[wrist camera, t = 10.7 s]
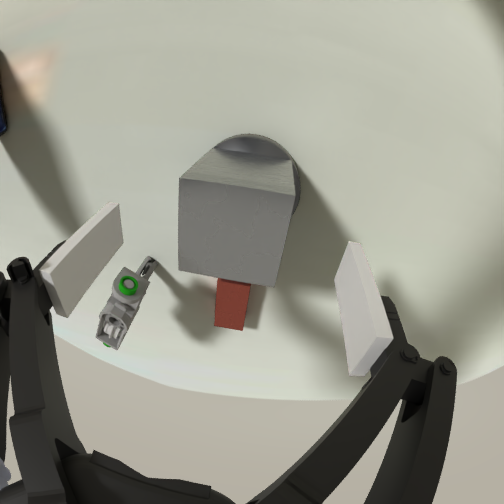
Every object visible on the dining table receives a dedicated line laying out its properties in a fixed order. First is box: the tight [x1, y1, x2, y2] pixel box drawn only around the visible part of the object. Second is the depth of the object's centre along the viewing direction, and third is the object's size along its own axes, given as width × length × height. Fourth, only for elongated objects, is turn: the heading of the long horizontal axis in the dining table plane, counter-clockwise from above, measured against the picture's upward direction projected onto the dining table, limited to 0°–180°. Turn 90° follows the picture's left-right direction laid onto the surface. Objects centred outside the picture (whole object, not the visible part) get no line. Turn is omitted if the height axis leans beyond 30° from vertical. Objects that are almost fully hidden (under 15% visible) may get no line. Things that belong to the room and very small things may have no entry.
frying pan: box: [214, 134, 300, 331], centre depth 25 cm, size 22×9×8 cm, turn 172°
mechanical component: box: [96, 256, 157, 350], centre depth 27 cm, size 3×10×10 cm, turn 148°
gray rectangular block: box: [178, 148, 296, 287], centre depth 20 cm, size 6×6×8 cm
